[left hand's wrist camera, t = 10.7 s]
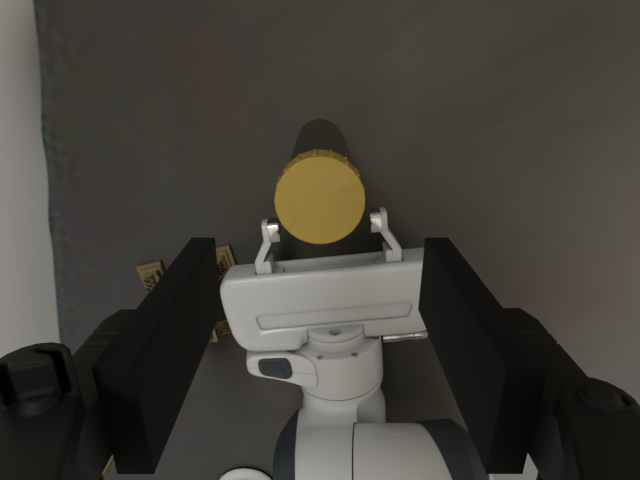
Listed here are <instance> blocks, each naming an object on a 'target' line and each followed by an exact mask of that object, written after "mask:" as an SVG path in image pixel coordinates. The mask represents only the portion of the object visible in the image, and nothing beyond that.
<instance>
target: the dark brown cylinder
mask: <svg viewBox="0 0 640 480" xmlns="http://www.w3.org/2000/svg"><path fill="white" fill-rule="evenodd" d="M314 149H316V150H328V151H330V150H332V152H335V153H337V154H340V155H341V156H343V157H345V156H346V157H347V160H348V161H349V162H350V163H351V161H350V158H349V156H348V153H347V150H346V147H345V144H344V141H343V138H342V135H341V133H340V131H339V129H338V128H337V127H336V126H335V125H334V124H333V123H331V122H330V121H327V120H323V119H317V120H313V121H310V122H309V123H307V124H306V125H305V126H304V127H303V128H302V129H301V131H300V133H299V135H298V138H297V141H296V144H295V147H294V150H293V153H292V155H291V158H290V161H289V163H290V162H291V161H292V160H293V159H294V158H295V157H297V156H298V154H299V153H300V154H302V153H305V152H308V151H312V150H314Z"/></svg>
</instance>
